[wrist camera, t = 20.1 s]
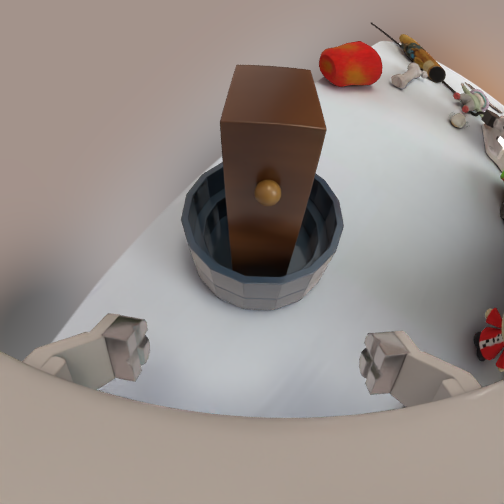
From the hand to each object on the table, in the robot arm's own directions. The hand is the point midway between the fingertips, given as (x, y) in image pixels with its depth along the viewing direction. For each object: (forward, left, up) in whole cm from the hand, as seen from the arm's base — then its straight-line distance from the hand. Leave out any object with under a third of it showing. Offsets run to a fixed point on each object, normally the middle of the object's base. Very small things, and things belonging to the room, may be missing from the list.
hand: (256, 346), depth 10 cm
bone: (-63, +9, -11) cm, 64 cm away
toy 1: (-62, +22, -9) cm, 66 cm away
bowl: (-9, -3, -11) cm, 15 cm away
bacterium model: (-52, +24, -10) cm, 58 cm away
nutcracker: (-88, +37, -10) cm, 95 cm away
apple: (-43, -6, -7) cm, 44 cm away
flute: (-73, +15, -9) cm, 75 cm away
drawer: (-9, -3, -10) cm, 14 cm away
